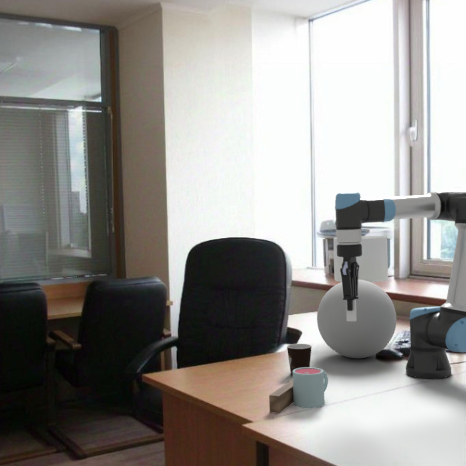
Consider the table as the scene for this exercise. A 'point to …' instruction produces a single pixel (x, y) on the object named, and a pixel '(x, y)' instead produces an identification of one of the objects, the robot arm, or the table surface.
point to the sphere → (365, 328)
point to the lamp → (367, 260)
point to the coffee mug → (299, 356)
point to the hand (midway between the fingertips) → (351, 320)
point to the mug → (309, 387)
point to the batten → (281, 398)
